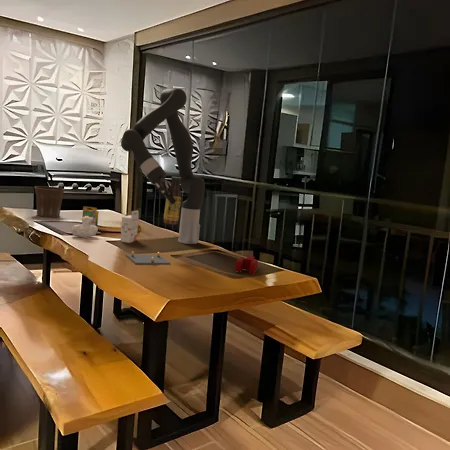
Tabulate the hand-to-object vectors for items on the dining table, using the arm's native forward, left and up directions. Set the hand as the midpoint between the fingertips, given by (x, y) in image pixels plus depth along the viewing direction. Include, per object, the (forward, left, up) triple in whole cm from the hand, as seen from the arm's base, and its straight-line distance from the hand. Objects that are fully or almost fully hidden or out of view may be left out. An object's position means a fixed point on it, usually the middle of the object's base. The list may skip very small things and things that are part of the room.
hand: (176, 202), depth 195 cm
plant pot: (+40, -97, -23) cm, 107 cm away
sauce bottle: (+1, -1, -10) cm, 10 cm away
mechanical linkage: (-23, +25, -23) cm, 41 cm away
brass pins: (+13, +11, -22) cm, 28 cm away
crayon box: (+24, -57, -23) cm, 66 cm away
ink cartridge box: (+11, -29, -23) cm, 39 cm away
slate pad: (+13, +9, -23) cm, 28 cm away
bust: (+30, -35, -23) cm, 52 cm away
